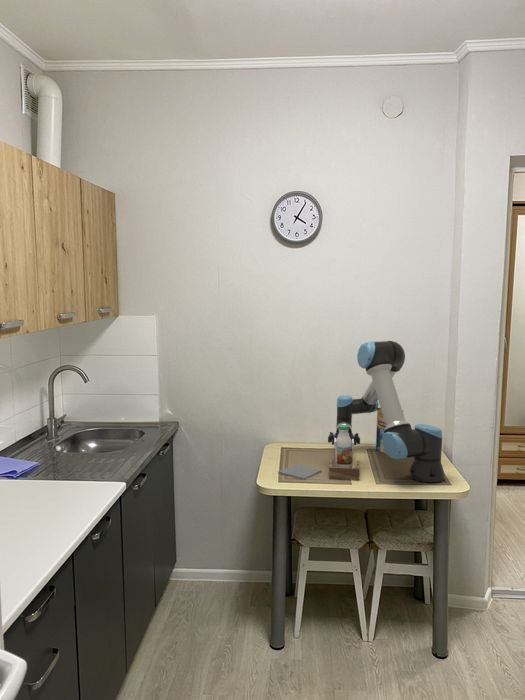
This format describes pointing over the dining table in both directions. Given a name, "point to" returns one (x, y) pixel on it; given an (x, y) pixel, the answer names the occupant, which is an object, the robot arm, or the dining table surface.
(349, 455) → the milk bottle
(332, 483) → the dining table surface
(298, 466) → the grey tile
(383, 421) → the beverage box
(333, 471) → the wooden frame
